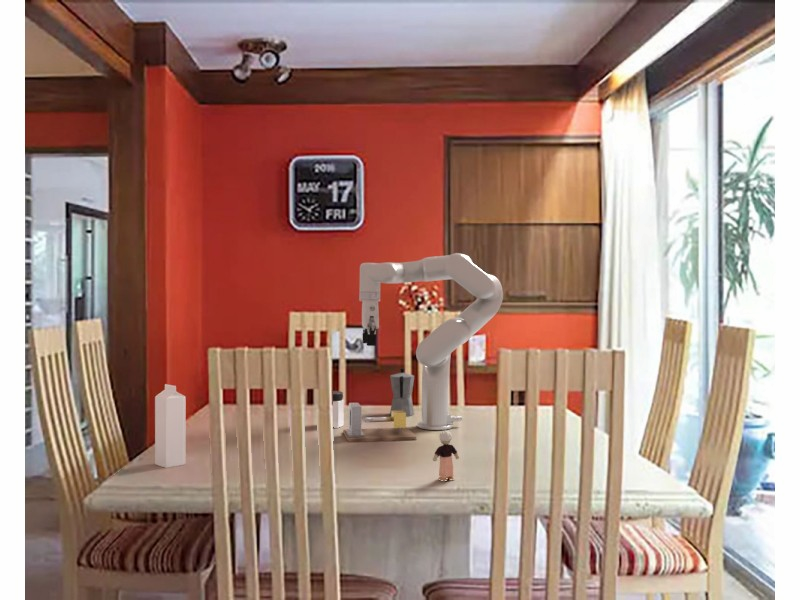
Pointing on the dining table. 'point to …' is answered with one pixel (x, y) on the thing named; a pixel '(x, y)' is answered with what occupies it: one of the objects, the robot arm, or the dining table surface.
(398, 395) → the coffeepot
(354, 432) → the brushed steel socket base
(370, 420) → the yellow block headed rod
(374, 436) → the copper board
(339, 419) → the jar
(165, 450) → the milk
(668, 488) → the dining table surface
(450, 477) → the grandmother figurine
